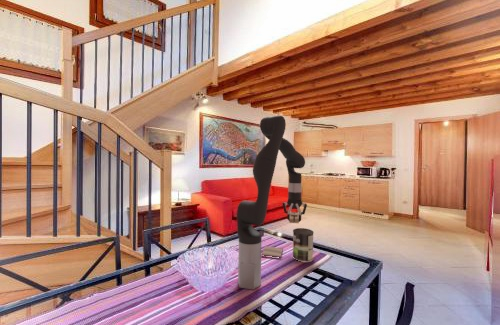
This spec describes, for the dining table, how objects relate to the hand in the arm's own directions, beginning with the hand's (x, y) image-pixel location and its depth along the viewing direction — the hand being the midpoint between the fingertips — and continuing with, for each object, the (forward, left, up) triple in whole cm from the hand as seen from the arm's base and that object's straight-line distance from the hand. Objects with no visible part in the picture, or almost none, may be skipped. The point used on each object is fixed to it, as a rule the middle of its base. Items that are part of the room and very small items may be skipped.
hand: (294, 221), depth 132 cm
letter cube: (0, 0, 0) cm, 0 cm away
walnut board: (-9, +11, -16) cm, 21 cm away
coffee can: (-11, -5, -16) cm, 20 cm away
